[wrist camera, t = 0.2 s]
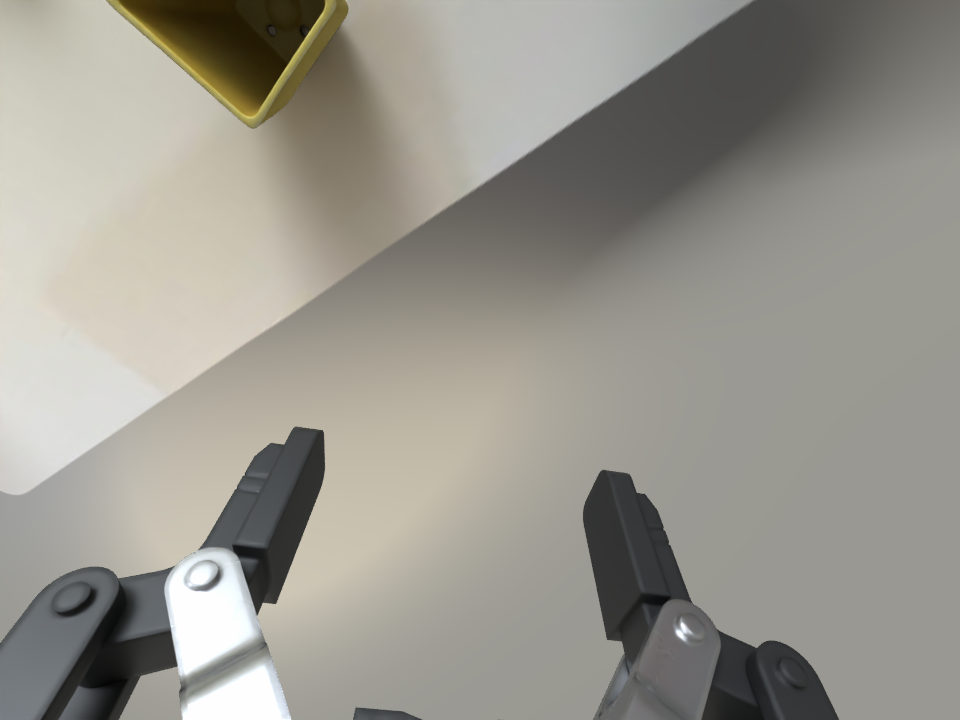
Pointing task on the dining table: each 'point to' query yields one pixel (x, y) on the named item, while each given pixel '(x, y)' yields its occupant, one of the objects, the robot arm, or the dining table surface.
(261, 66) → the flower pot
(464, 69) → the dining table surface
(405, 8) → the dining table surface
